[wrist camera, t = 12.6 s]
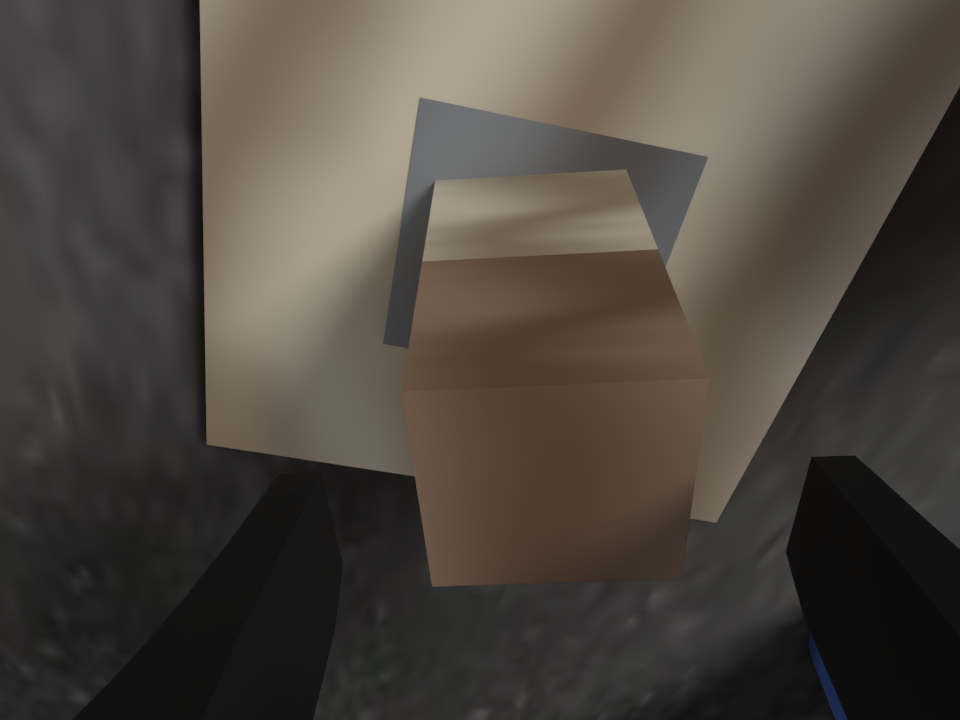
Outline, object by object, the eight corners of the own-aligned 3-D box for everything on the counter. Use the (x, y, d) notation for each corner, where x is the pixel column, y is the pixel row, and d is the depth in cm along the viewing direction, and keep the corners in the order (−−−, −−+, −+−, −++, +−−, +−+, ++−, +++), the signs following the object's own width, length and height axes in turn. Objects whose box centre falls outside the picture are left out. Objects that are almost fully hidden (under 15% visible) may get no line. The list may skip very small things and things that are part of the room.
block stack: (626, 169, 17) (710, 378, 11) (618, 330, 20) (681, 578, 13) (435, 180, 17) (401, 391, 11) (451, 338, 20) (432, 586, 13)
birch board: (988, -33, 16) (1022, -24, 15) (707, 495, 25) (716, 523, 24) (216, -221, 14) (195, -226, 13) (218, 418, 23) (206, 445, 22)
